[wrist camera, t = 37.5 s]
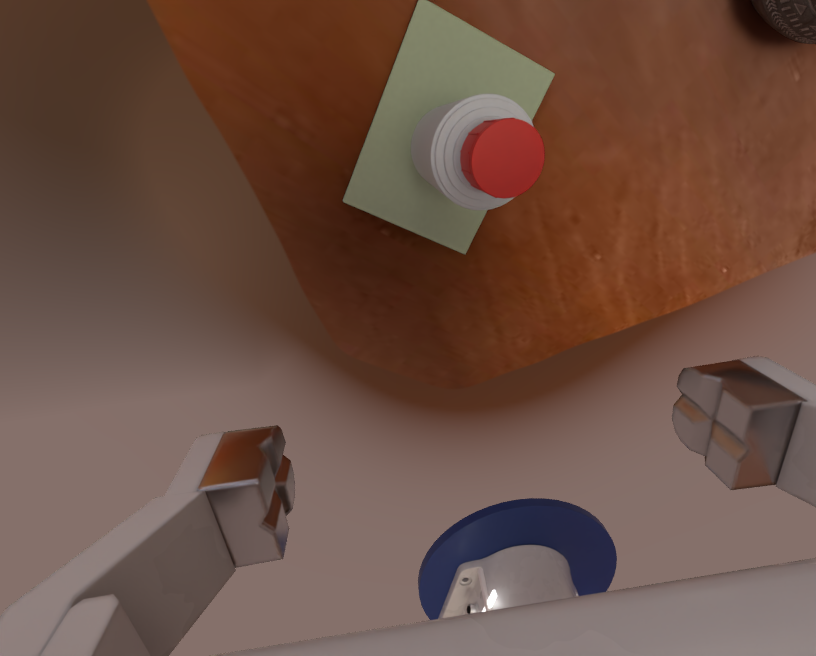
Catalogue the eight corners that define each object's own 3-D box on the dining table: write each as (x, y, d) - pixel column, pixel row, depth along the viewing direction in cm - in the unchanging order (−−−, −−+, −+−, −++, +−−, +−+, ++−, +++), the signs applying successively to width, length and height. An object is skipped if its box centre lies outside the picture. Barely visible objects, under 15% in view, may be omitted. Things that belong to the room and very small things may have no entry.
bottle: (465, 199, 39) (526, 241, 24) (398, 168, 37) (420, 193, 23) (500, 126, 37) (590, 123, 22) (430, 90, 35) (477, 61, 21)
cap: (479, 106, 23) (493, 103, 21) (538, 137, 24) (559, 138, 22) (448, 175, 24) (458, 180, 22) (505, 202, 25) (521, 210, 23)
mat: (463, 252, 42) (465, 255, 41) (342, 200, 39) (342, 201, 38) (550, 75, 36) (555, 73, 35) (418, -1, 33) (420, -5, 33)
